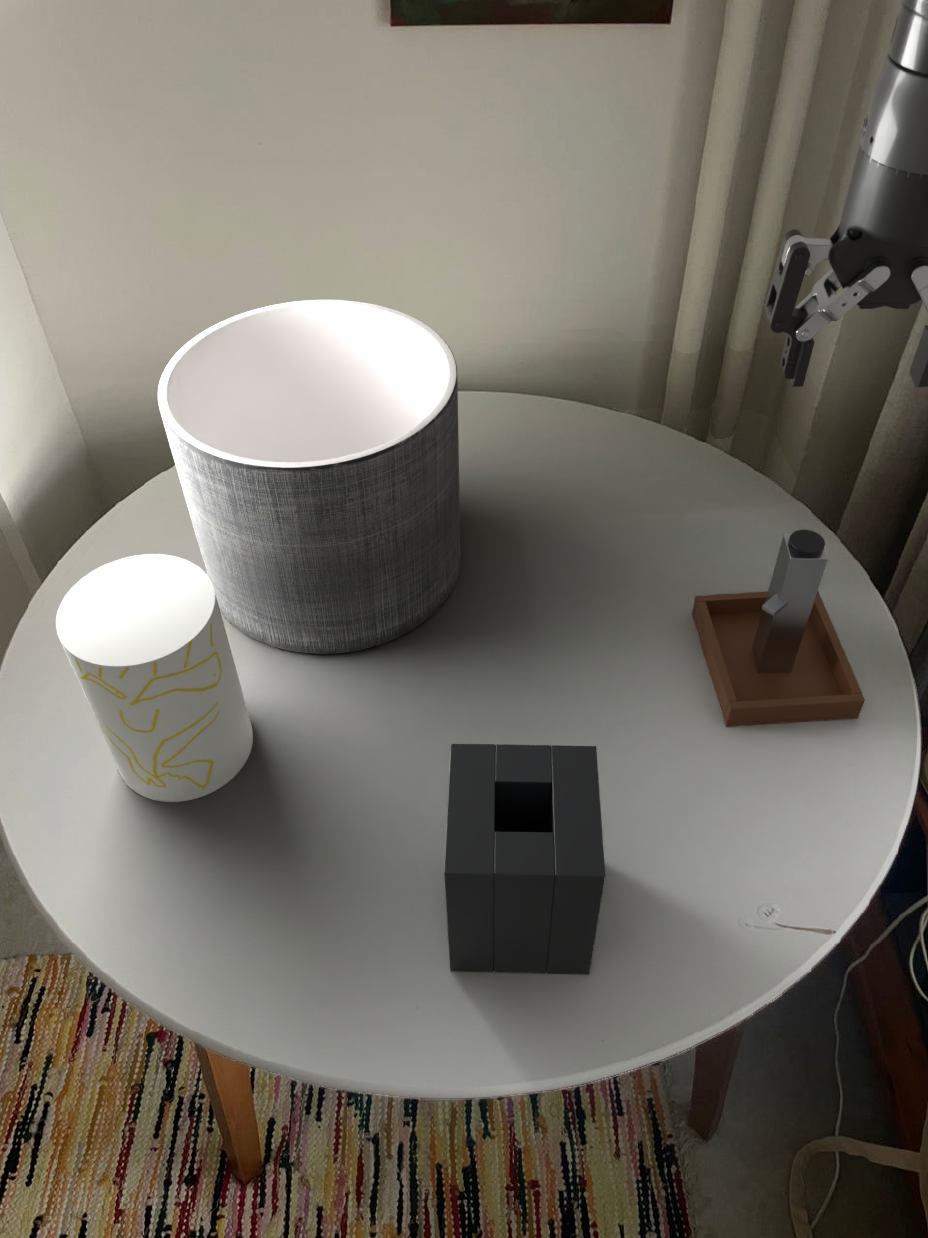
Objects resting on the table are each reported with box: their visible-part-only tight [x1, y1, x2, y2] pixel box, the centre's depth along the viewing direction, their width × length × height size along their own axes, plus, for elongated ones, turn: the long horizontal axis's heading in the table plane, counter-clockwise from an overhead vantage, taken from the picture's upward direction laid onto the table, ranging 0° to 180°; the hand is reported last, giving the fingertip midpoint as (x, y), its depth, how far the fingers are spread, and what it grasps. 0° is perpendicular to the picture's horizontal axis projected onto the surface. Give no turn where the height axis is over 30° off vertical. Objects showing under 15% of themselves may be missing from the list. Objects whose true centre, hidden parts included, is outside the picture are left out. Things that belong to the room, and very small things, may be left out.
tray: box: [691, 590, 866, 728], centre depth 93 cm, size 14×12×2 cm
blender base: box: [443, 743, 606, 976], centre depth 72 cm, size 10×10×14 cm
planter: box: [157, 299, 462, 655], centre depth 96 cm, size 25×25×22 cm
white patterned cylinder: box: [55, 553, 254, 803], centre depth 82 cm, size 12×12×17 cm
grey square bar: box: [752, 529, 829, 673], centre depth 88 cm, size 6×6×15 cm
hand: (856, 380), depth 72 cm, fingers open, 8 cm apart
